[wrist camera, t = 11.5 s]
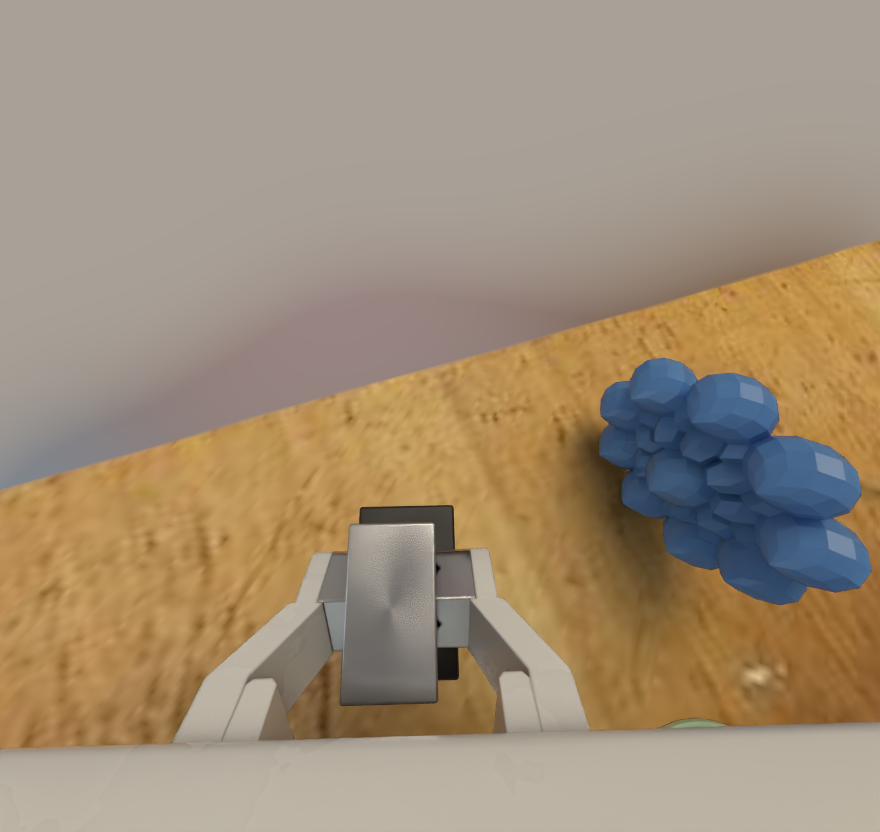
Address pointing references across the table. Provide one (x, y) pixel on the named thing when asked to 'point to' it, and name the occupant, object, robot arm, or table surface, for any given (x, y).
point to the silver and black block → (395, 607)
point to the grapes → (733, 482)
